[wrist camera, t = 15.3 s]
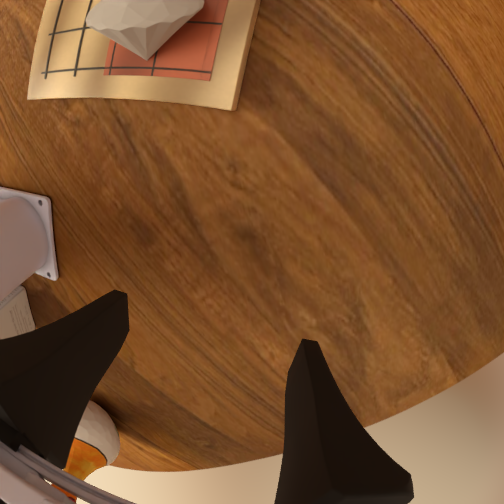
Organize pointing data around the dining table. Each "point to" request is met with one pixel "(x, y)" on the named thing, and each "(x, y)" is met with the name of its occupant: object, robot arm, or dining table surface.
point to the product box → (15, 314)
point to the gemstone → (141, 21)
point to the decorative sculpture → (91, 445)
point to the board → (138, 69)
